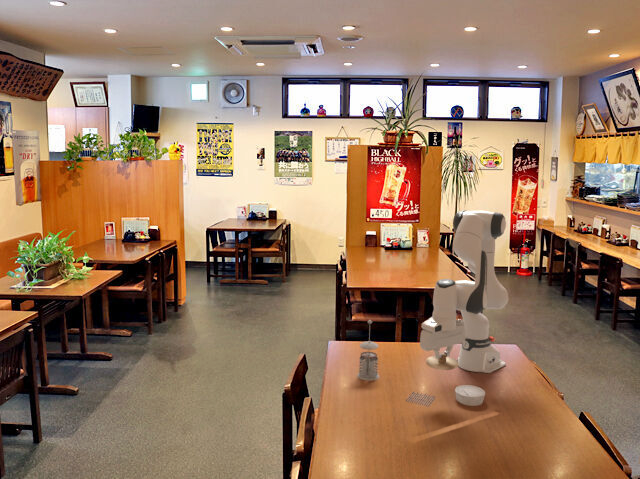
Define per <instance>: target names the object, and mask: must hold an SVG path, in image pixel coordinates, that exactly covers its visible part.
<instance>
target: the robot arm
mask: <svg viewBox="0 0 640 479" xmlns="http://www.w3.org/2000/svg"><path fill="white" fill-rule="evenodd" d="M452 227H453V231H455V234H454V237H453V242H452V250H453V252H454V254H455V255H456V256H457V257H458V258H460V259H461V260H462V261H464V262H466V263H467V267H468V270H469V271H471V273H473V274H474V280H466V279H461V280H453V279H449V278H443V279H439V280H437V281H436V283H435V285H434V290H433V300H432V305H433V311H432V316H431V317H429V318H428V319H427V320H425V321H424V322H422V323H421V329H422V330H421V332H420V337H419V339H420V340H419V347H420V349H421V350H423V351H425V352H430V351H433V352H434V356H435V358H437V359H440V358H441V354H440V353H441V352H440V351H441V349H442V348H446V349H445V350H444V351H443V353H445V354H447V356H446V357H450V356H451V353H452V352H451V351H452V350H453V347H454V346H455V345H459V344H460V348H459V354H458V357H457V359H456V360H457V361H458V368H461V369H462V370H464V371H468V372H469V371H470V372H476V373H486V374H490V373H493V372H494V371H496V370H498V369H500V368H504V367H505V366H506V362H505V361H504V360H502V359H501V353H500V351H499V350H498V349H497V348H496V347H495V346H494V345H492V344H491V342H495V340H496V338H495V337H494V336H491V335H490V336H489V328H490V322H489V319H488V317H487V316H485V315H484V314H483V313H482V312H483V311H484V310H485V309H488V310H489V309H490V310H495V309H496V310H499V309H503V308H504V307H505V306H506V305H507V304H508V301H509V294H508V290H507V289H506V288H505V287H504V286H503V285H502V284H501V282H500V281H499V280H498V278H497V276H496V271H495V255H496V240H497V239H498V238H500V237H501V236H503V234H504V233H505V231H506V228H507V221H506V217H505V216H504V214H503V213H501V212H497V211H494V212H493V211H487V210H466V209H465V210H464V209H463V210H459V211H457V212H456V213H455V214H454V216H453V219H452ZM456 311H460V313H461V317H462V319H461V318H459V319H457V312H456Z"/></svg>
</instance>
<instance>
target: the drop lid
mask: <svg viewBox="0 0 640 479" xmlns="http://www.w3.org/2000/svg"><path fill="white" fill-rule="evenodd" d="M439 353H440V354H441V358H440V359H437V358H435V355H433V356H429V357H427V358H426V360H425V362H426V365H427V366H429V367H430V368H433V369H435V370H441V371H451V370H454V369H455V370H456V368H459V366H458V360H457V359H456V358H453V357H450V356H448V357H446V356H447V354H445V353H444V352H439Z"/></svg>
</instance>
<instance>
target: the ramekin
mask: <svg viewBox="0 0 640 479" xmlns="http://www.w3.org/2000/svg"><path fill="white" fill-rule="evenodd" d="M454 394H455V399H456V401H457V402H458V403H460V404H462V405H465V406H470V407H476V406H481V405H482V404H483V403H484V400H485V396H486V391H485V390H484V389H483V388H481V387H479V386H476V385H471V384H462V385H458V386H456V387H455V388H454Z"/></svg>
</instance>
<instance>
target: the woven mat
mask: <svg viewBox="0 0 640 479" xmlns="http://www.w3.org/2000/svg"><path fill="white" fill-rule="evenodd" d="M435 399H436V397H435V396H434V395H433V396H431V395H427V394H423V393H422V392H421V394H420V393H417V392H415V391H413V392H412V393H411V394H409V396H408V398H406V401H408V402H409V403H411V404H416V405H420V406H425V407H430V405H431V404H432V403H433V402H434V400H435Z"/></svg>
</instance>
